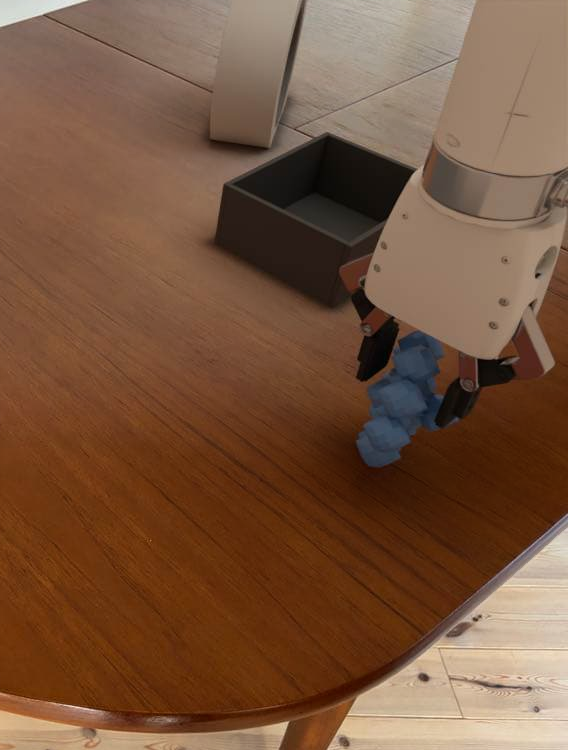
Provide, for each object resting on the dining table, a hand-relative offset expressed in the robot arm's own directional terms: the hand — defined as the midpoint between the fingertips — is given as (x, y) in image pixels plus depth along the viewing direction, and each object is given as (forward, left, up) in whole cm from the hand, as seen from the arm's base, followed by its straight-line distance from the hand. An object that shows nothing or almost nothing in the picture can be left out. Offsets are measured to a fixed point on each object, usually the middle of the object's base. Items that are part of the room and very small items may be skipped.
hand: (409, 392), depth 63 cm
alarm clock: (+46, -39, -8) cm, 61 cm away
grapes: (0, 0, -7) cm, 7 cm away
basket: (+22, -22, -8) cm, 33 cm away
